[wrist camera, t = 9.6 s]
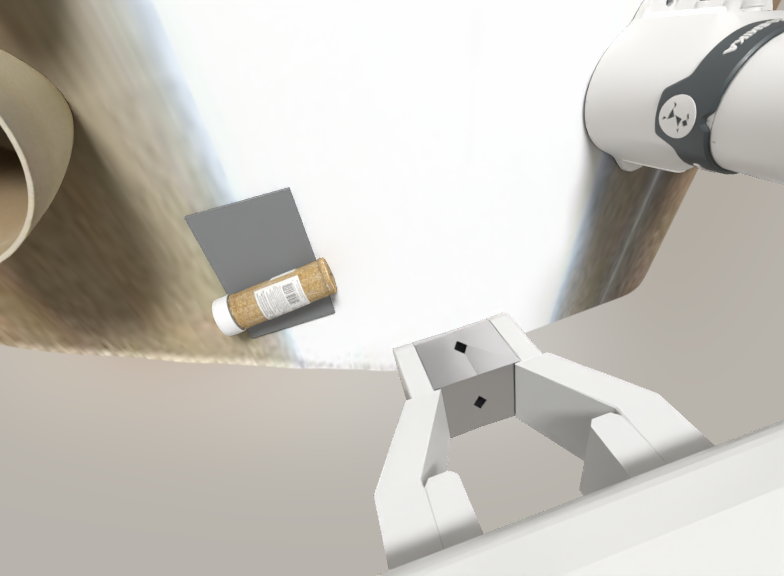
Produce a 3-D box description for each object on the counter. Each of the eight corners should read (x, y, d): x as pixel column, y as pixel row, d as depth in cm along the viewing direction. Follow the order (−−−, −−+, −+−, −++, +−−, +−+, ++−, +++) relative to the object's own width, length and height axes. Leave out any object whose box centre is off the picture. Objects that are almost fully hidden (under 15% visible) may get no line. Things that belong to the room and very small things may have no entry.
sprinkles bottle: (322, 250, 44) (213, 293, 44) (325, 267, 41) (206, 314, 40) (336, 281, 47) (233, 322, 46) (341, 300, 43) (229, 345, 42)
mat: (289, 187, 40) (289, 188, 39) (334, 310, 50) (335, 312, 49) (185, 216, 39) (184, 218, 39) (252, 336, 49) (252, 338, 48)
